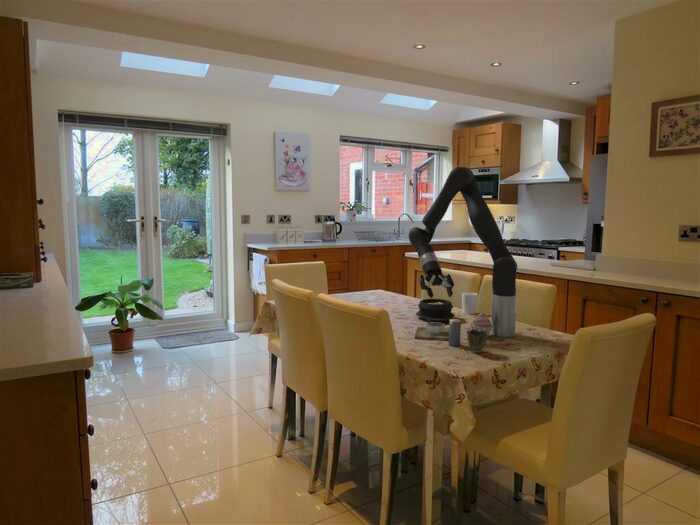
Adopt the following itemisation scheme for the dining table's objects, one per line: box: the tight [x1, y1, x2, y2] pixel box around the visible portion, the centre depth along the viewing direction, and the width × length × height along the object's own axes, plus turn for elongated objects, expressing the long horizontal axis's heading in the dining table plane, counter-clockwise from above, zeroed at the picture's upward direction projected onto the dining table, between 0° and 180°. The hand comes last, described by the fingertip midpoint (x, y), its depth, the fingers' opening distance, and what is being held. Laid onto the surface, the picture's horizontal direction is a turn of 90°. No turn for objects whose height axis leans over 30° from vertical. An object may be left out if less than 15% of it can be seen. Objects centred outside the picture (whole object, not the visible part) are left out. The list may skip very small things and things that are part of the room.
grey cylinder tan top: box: [448, 318, 462, 348], centre depth 189 cm, size 4×4×10 cm
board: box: [414, 326, 449, 342], centre depth 204 cm, size 16×16×1 cm
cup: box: [466, 328, 488, 354], centre depth 179 cm, size 8×7×8 cm
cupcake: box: [469, 312, 493, 338], centre depth 202 cm, size 9×9×10 cm
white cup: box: [461, 291, 479, 315], centre depth 246 cm, size 8×8×10 cm
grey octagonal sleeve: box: [425, 321, 446, 335], centre depth 204 cm, size 8×8×4 cm
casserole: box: [415, 298, 456, 322], centre depth 234 cm, size 25×19×8 cm
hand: (441, 296), depth 198 cm, fingers open, 8 cm apart
